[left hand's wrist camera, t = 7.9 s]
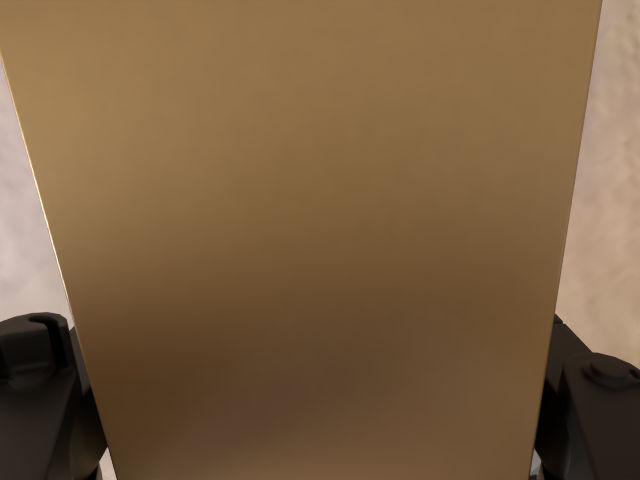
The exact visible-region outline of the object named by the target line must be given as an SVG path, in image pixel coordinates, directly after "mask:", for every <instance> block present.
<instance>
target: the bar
mask: <svg viewBox="0 0 640 480" xmlns="http://www.w3.org/2000/svg"><path fill="white" fill-rule="evenodd" d="M601 6H602V0H0V58H1V62H2V65H3V69H4V73H5V76H6V80H7V84H8V87H9V91H10V94H11V98H12V102H13V105H14V109H15V112H16V116H17V120H18V123H19V127H20V131H21V134H22V138H23V141H24V145H25V149H26V152H27V156H28V160H29V163H30V167H31V170H32V174H33V178H34V181H35V185H36V188H37V192H38V196H39V199H40V203H41V207H42V210H43V214H44V217H45V221H46V225H47V228H48V232H49V236H50V239H51V243H52V246H53V250H54V254H55V257H56V261H57V265H58V268H59V272H60V275H61V279H62V283H63V286H64V290H65V293H66V297H67V301H68V304H69V308H70V312H71V315H72V319H73V322H74V326H75V330H76V333H77V337H78V341H79V344H80V348H81V351H82V355H83V359H84V362H85V366H86V369H87V373H88V377H89V380H90V384H91V388H92V391H93V395H94V398H95V402H96V406H97V409H98V413H99V417H100V420H101V424H102V427H103V431H104V435H105V438H106V442H107V445H108V449H109V453H110V456H111V460H112V464H113V467H114V471H115V474H116V478H117V480H529V479H530V472H531V466H532V459H533V452H534V446H535V439H536V433H537V426H538V420H539V413H540V407H541V400H542V393H543V387H544V380H545V374H546V367H547V361H548V354H549V348H550V341H551V334H552V328H553V321H554V315H555V308H556V302H557V295H558V288H559V282H560V275H561V269H562V262H563V256H564V249H565V243H566V236H567V229H568V223H569V216H570V210H571V203H572V197H573V190H574V184H575V177H576V170H577V164H578V157H579V151H580V144H581V138H582V131H583V125H584V118H585V111H586V105H587V98H588V92H589V85H590V79H591V72H592V65H593V59H594V52H595V46H596V39H597V33H598V26H599V20H600V13H601Z"/></svg>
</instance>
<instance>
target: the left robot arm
mask: <svg viewBox="0 0 640 480" xmlns="http://www.w3.org/2000/svg"><path fill="white" fill-rule="evenodd" d="M107 447H108V445H107V442H106V438H105V435H104V431H103V427H102V424H101V420H100V417H99V413H98V409H97V406H96V402H95V398H94V395H93V391H92V388H91V384H90V380H89V377H88V373H87V369H86V366H85V362H84V359H83V355H82V351H81V348H80V344H79V341H78V337H77V333H76V330H75V326H74V327H73V328H72V329H71V330H70V331H69V328H68V323H67V319H66V318H64V317H63V316H61V315H60V314H55V313H49V312H44V313H30V314H26V315H21V316H16V317H13V318H10V319H7V320H4V321H2V322H0V480H103V479H102V472H101V468H100V463H99V461H100V459H101V458H102V456H103V454H104V452H105V450H106V449H107ZM529 480H640V370H639V369H638V368H636V367H635V366H633V365H632V364H630V363H627V362H625V361H623V360H620V359H618V358H616V357H613V356H609V355H605V354H601V353H593V352H592V351H591V350H590V349H589V348H588V347H587V346H586V345H585V344H584V343H583V342H582V341H581V340H580V339H579V338H578V337H577V336H576V335H575V334H574V333H573V331H572V330H571V329H570V328H569V327H568V326H567V325H566V324H563V321H562V320H561V319H560V318H559V317H558V316H557V315H556V314H555V315H554V321H553V328H552V334H551V341H550V348H549V354H548V361H547V367H546V374H545V380H544V387H543V393H542V400H541V407H540V413H539V420H538V426H537V433H536V439H535V446H534V452H533V459H532V466H531V472H530V479H529Z"/></svg>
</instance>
